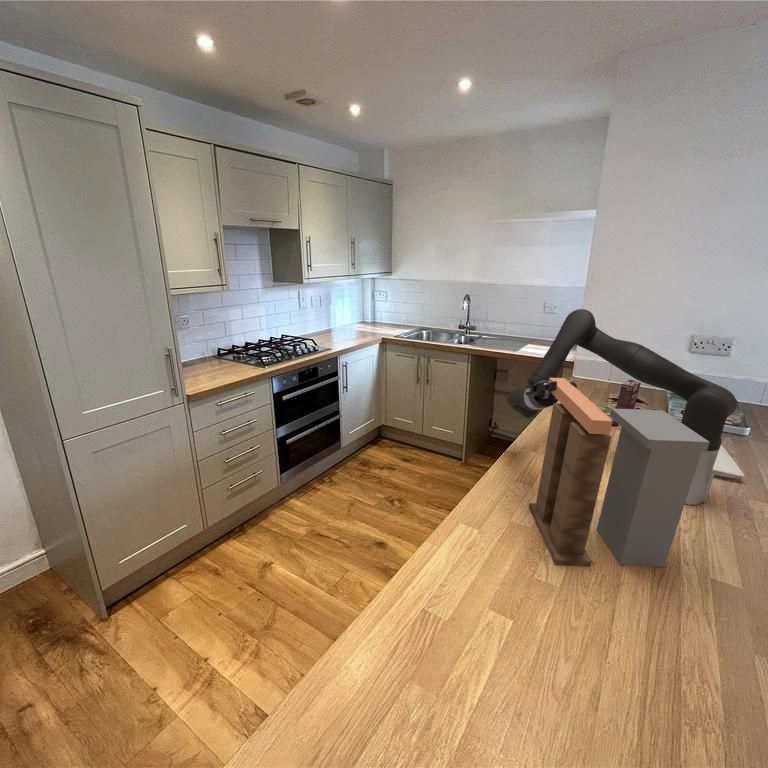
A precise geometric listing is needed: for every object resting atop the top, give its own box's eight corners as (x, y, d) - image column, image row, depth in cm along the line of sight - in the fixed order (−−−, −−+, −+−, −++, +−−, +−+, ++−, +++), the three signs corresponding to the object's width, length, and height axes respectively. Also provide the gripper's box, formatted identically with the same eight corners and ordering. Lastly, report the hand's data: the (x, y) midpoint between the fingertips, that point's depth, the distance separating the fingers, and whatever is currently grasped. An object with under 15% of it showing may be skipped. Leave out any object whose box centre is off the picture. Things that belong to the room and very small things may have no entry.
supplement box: (625, 423, 167) (634, 386, 162) (612, 419, 171) (620, 383, 165) (632, 417, 173) (641, 382, 167) (620, 414, 176) (628, 379, 171)
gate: (557, 508, 113) (579, 401, 102) (590, 566, 94) (621, 440, 83) (528, 507, 114) (546, 400, 103) (554, 564, 94) (580, 439, 83)
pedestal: (632, 521, 109) (662, 410, 98) (668, 567, 94) (709, 442, 83) (586, 519, 109) (611, 408, 98) (615, 564, 94) (649, 439, 83)
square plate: (642, 466, 136) (645, 456, 135) (630, 432, 160) (632, 423, 159) (743, 485, 127) (747, 474, 126) (714, 446, 151) (717, 437, 150)
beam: (547, 388, 108) (549, 377, 107) (562, 389, 108) (564, 378, 107) (589, 433, 83) (592, 420, 82) (609, 434, 83) (612, 421, 82)
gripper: (515, 381, 119) (535, 369, 103) (565, 383, 119) (593, 371, 102) (516, 407, 118) (536, 399, 101) (566, 409, 118) (594, 401, 101)
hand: (564, 385), depth 102 cm, fingers closed on beam, 3 cm apart
